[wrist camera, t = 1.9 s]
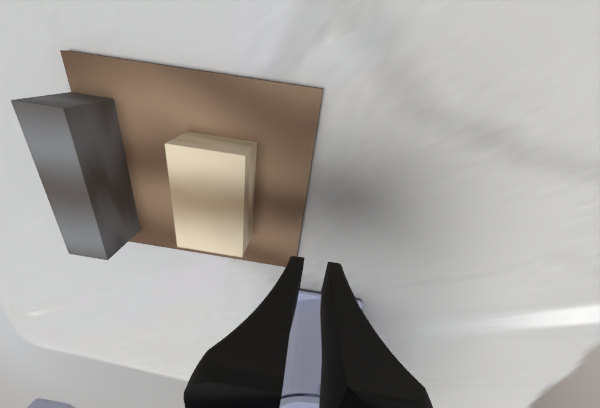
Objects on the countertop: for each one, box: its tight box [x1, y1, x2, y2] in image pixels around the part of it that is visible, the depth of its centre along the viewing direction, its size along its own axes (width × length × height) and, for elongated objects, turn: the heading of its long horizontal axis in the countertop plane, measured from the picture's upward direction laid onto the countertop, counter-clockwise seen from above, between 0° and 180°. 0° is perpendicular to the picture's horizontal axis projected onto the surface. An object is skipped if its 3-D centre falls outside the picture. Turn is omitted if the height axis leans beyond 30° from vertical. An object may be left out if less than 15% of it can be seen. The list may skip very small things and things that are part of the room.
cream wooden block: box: [165, 132, 257, 257], centre depth 19 cm, size 8×5×3 cm, turn 173°
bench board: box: [11, 50, 323, 267], centre depth 19 cm, size 15×17×5 cm
